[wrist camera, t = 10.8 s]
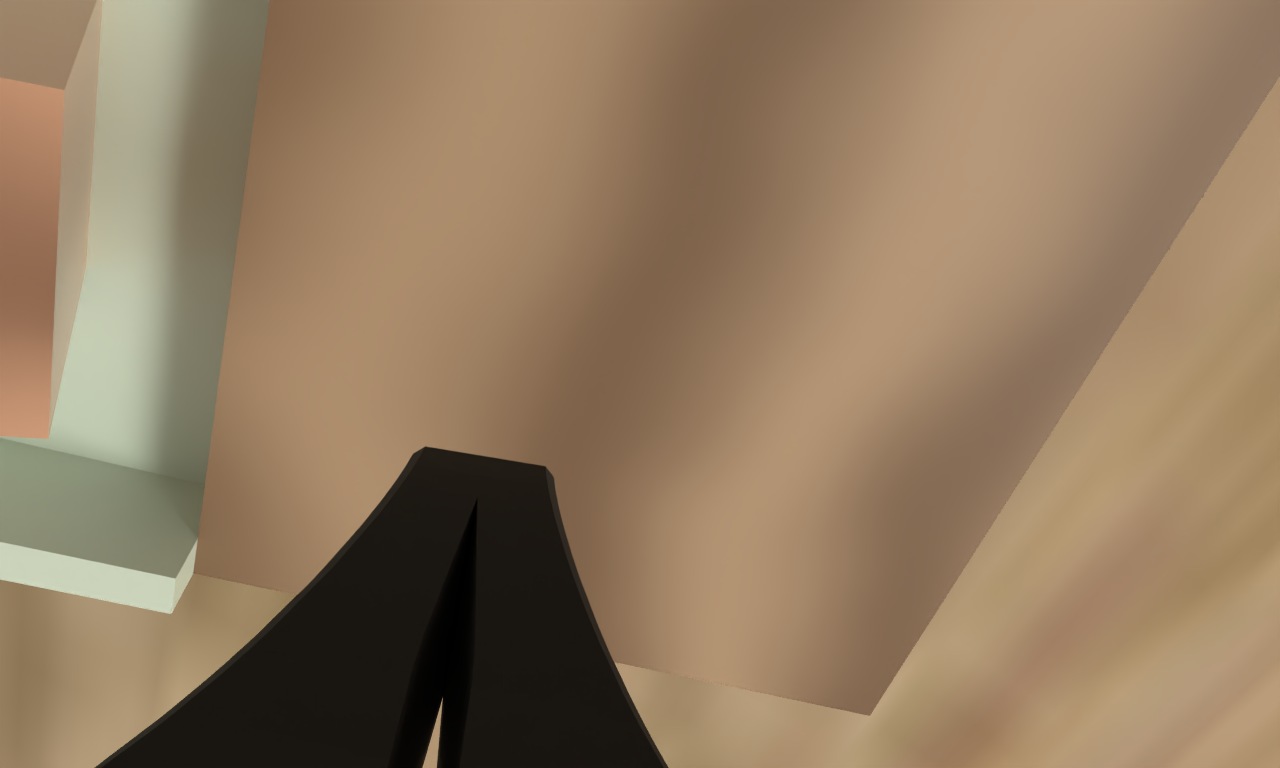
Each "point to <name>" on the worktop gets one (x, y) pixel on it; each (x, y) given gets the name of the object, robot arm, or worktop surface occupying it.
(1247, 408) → the worktop surface
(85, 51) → the terracotta tile
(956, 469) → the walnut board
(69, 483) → the tray
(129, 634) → the worktop surface
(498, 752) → the robot arm
